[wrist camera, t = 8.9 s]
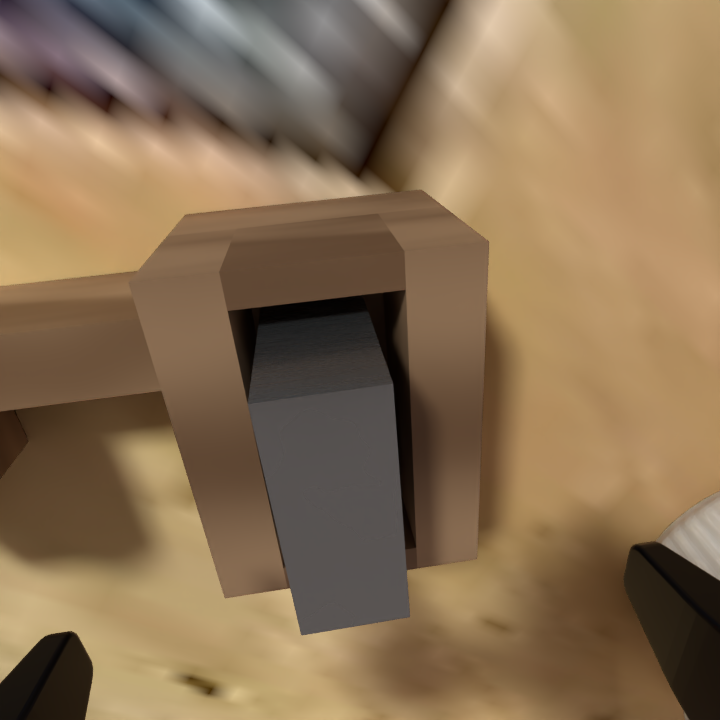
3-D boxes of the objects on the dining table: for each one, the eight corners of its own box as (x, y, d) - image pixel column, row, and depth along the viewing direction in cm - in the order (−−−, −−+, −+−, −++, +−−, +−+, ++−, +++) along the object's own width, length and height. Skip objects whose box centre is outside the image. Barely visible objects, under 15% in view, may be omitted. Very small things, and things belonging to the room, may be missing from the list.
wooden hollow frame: (427, 433, 20) (513, 651, 12) (-95, 505, 18) (-367, 799, 11) (421, 189, 16) (548, 288, 8) (-257, 261, 14) (-891, 461, 7)
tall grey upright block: (372, 449, 17) (410, 617, 11) (297, 460, 17) (301, 635, 11) (354, 271, 14) (393, 383, 9) (264, 282, 14) (248, 404, 8)
